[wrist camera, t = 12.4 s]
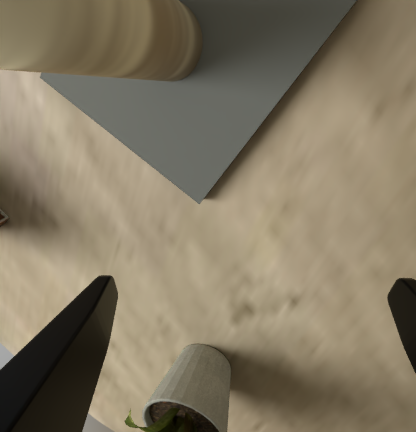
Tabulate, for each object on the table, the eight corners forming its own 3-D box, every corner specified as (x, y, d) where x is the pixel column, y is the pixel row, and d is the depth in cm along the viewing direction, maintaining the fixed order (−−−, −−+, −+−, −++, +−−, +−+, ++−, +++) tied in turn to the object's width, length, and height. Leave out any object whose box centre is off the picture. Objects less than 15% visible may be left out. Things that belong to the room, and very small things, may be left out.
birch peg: (204, -1, 15) (-63, -258, 4) (200, 83, 17) (8, 69, 6) (136, 0, 16) (-233, -204, 5) (139, 79, 17) (-129, 61, 6)
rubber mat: (358, -2, 14) (362, -9, 13) (203, 199, 21) (199, 204, 20) (134, -189, 13) (122, -209, 13) (51, 78, 20) (39, 77, 19)
